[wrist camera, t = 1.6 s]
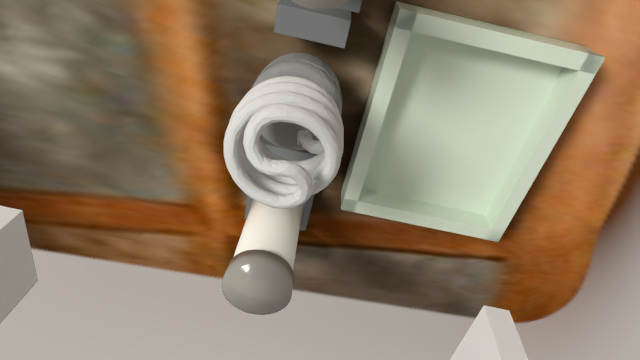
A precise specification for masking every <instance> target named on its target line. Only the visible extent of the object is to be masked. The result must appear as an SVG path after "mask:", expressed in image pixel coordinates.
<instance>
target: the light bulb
mask: <svg viewBox="0 0 640 360" xmlns="http://www.w3.org/2000/svg"><path fill="white" fill-rule="evenodd" d="M341 115H342V94H341V90H340V86H339V82H338V79H337V77H336V75H335V74H334V72H333V70H332V69H331V67H330V66H328V65H327V64H326V63H325V62H323V61H322V60H321V59H319V58H318V57H315V56H313V55H310V54H306V53H290V54H286V55H283V56H280V57H279V58H277V59H275V60H273V61H272V62H271V63H270V64H269V65H267V66H266V67H265V68H264V69H263V70H262V72H261V73H260V75H259V76H258V78H257V79H256V81H255V83H254V84H253V86H252V89H251V90H250V91H249V92H248V93H247V94H246V95H245V96H244V98H243V99H242V100H241V102H240V103H239V104H238V106H237V107H236V108H235V110H234V112H233V114H232V116H231V118H230V122H229V125H228V128H227V130H226V132H225V138H224V158H225V162H226V165H227V169H228V171H229V173H230V174H231V176H232V178H233V180H234V181H235V183H236V184H237V185H238V186H239V187H240V188H241V190H242V191H243V192H245V193H246V194H247V195H248V196H249V197H251V198H252V199H254V200H256V201H257V202H259V203H261V204H263V205H266V206H269V207H272V208H280V209H287V208H295V207H297V206H299V205H301V204H303V203H304V202H306V201H307V200H308V199H309V198H310V197H311V195H313V194H316V193H318V192H319V191H321V190H322V189H324V188H325V187H327V186H328V185H329V184H330V182H331V181H332V180H333V179H334V178H335V176H336V174H337V172H338V170H339V167H340V162H341V157H342V154H343V147H344V127H343V123H342V119H341ZM261 134H262V136H263V137H264V138H265V139H266V140H268V141H269V142H271V143H273V144H274V145H276V146H278V147H281V148H284V149H288V150H293V151H294V150H307V151H309V152H310V153H312V154H318V155H316V156H315V157H313V158H311V159H307V160H303V161H294V160H287V159H284V158H281V157H279V156H277V155H275V154H274V153H272V152H271V151H270V150H269V149H268V148H267V147H266V146H265V145H264V144H263V143H262V141H261V139H260V135H261Z"/></svg>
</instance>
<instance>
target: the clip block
mask: <svg viewBox="0 0 640 360" xmlns="http://www.w3.org/2000/svg"><path fill="white" fill-rule="evenodd" d="M361 4H362V0H349V1H348V2H346V3H344V4H342V5H340V6H337V7H334V8H330V9H323V10H318V9H309V8H306V7H302V6H300V5H298V4H296V3H294V2H292V1H291V0H280V2H279V3H278V6H277V13H276V20H275V27H274V32H275V33H279V34H284V35H288V36H292V37H297V38H301V39H305V40H310V41H314V42H318V43H323V44H327V45H331V46H336V47H340V48H344V49H345V44H346V40H347V36H348V32H349V28H350V24H351V11H352V12H357V13H359V12H360V8H361ZM260 139H261V141H262V143H263V144H264V145H265V146H266V147H267V148H268V149H269V150H270V151H271V152H272V153H274V154H275V155H277V156H279V157H281V158H284V159H287V160H294V161H303V160H307V159H311V158H313V157H315V156H316V155H318V154H312V153H310V152H309V151H307V150H294V151H293V150H288V149H284V148H281V147H278V146H276V145H274V144H273V143H271V142H269V141H268V140H266V139H265V138H264V137H263V136H262V134H261V136H260ZM314 195H315V194H313V195H311V197H310V198H309V199H308V200H307V201H306V204H305V206H304V208H303V211H302V217H301V223H300V229H299V230H304V231H306V227H307V223H308V219H309V215H310V211H311V207H312V203H313V199H314ZM252 202H253V199H252V198H251V197H249V196H247V204H246V211H245V219H247V216H248V213H249V210H250V207H251V204H252Z"/></svg>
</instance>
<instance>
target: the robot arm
mask: <svg viewBox="0 0 640 360" xmlns="http://www.w3.org/2000/svg"><path fill="white" fill-rule="evenodd" d="M37 281H38V279H37V275H36V270H35V265H34V261H33V257H32V252H31V247H30V243H29V238H28V234H27V229H26V225H25V220H24V216H23V211H22V210H18V209H14V208H9V207H4V206H0V323H1V322H2V321H3V320H4V318H6V316H7V315H8V314H9V313H10V312H11V311H12V310H13V308H14V307H15V306H16V305H17V304H18V303H19V301H20V300H21V299H22V298H23V297H24V296H25V295H26V294H27V292H28V291H29V290H30V289H31V288H32V287H33V286H34V284H35V283H36V282H37ZM450 360H528V358H527V355H526V353H525V350H524V347H523V345H522V342H521V340H520V337H519V334H518V332H517V329H516V327H515V324H514V322H513V319H512V316H511V314H510V311H509V310H504V309H499V308H494V307H489V306H483V308H482V309H481V311H480V312H479V314H478V316H477V317H476V319H475V320H474V322H473V324H472V325H471V327H470V329H469V330H468V332H467V333H466V335H465V337H464V338H463V340H462V341H461V343H460V344H459V346H458V348H457V349H456V351H455V352H454V354H453V356H452V357H451V359H450Z"/></svg>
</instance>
